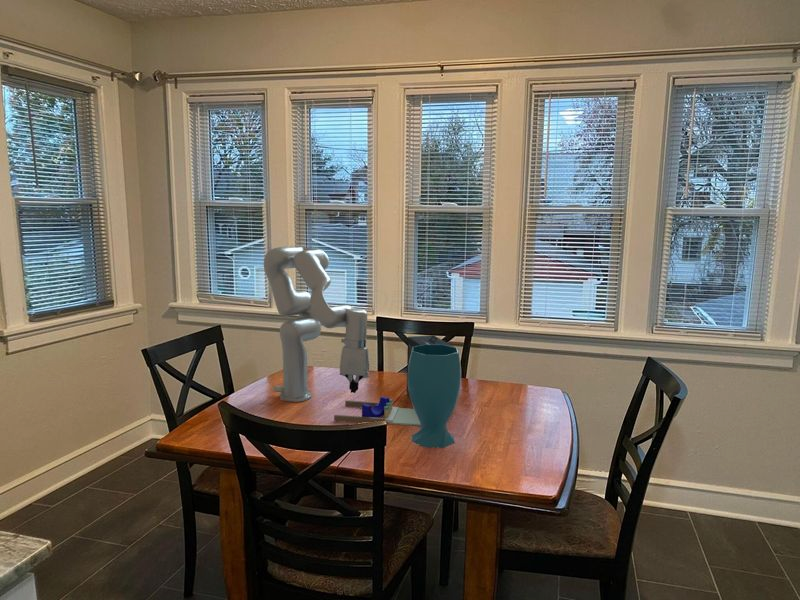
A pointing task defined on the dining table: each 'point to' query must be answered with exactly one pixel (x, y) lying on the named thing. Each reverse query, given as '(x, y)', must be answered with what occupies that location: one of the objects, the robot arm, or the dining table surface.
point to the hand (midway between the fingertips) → (353, 391)
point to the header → (390, 414)
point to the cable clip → (375, 408)
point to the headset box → (421, 341)
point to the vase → (434, 391)
